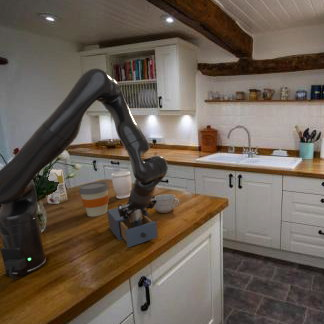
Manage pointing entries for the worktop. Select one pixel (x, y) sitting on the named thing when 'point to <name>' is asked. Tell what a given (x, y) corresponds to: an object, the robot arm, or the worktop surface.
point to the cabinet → (116, 221)
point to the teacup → (165, 203)
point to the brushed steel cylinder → (135, 218)
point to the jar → (122, 184)
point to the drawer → (138, 231)
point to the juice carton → (60, 193)
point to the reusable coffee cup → (95, 198)
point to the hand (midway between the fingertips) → (134, 214)
